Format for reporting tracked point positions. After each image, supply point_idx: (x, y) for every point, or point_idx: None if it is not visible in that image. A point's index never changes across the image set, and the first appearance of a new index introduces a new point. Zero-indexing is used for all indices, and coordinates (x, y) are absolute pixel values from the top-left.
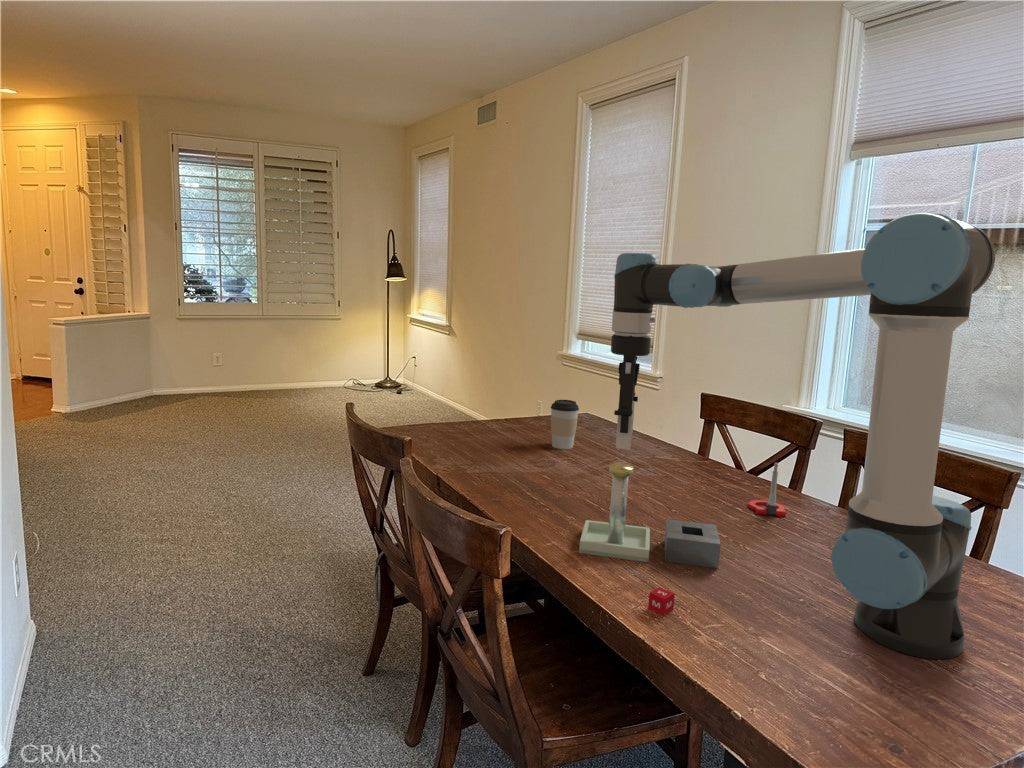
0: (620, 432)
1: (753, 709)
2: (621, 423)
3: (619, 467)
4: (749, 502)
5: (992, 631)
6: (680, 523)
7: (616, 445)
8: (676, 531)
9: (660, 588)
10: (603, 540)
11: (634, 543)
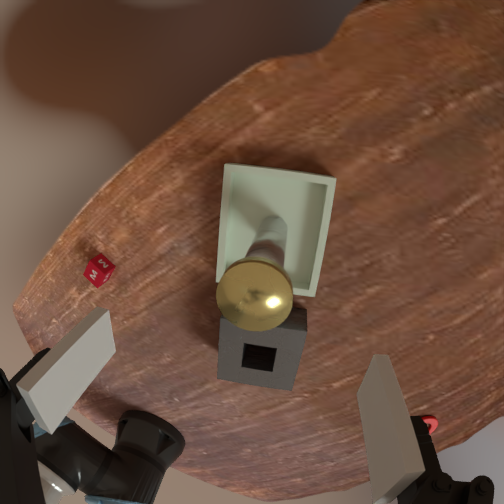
0: (47, 349)
1: (26, 300)
2: (23, 370)
3: (241, 293)
4: (431, 419)
5: (178, 465)
6: (289, 348)
7: (90, 314)
8: (250, 336)
9: (101, 275)
10: (276, 208)
11: None
